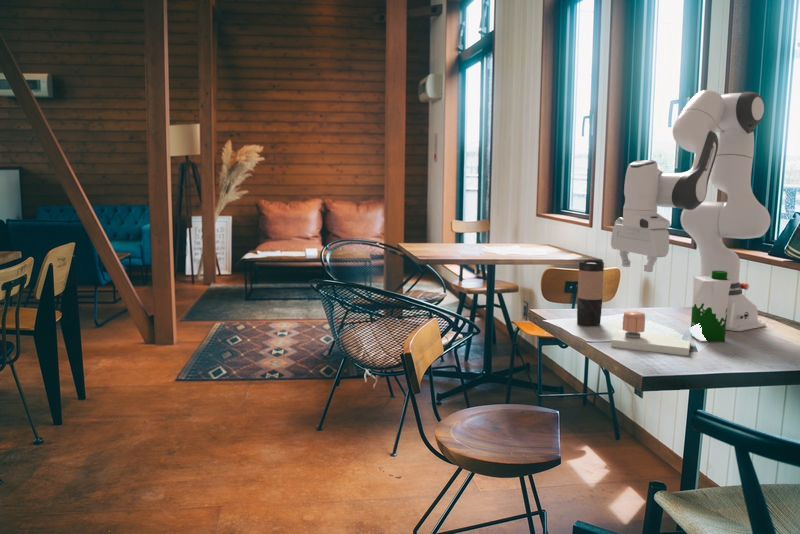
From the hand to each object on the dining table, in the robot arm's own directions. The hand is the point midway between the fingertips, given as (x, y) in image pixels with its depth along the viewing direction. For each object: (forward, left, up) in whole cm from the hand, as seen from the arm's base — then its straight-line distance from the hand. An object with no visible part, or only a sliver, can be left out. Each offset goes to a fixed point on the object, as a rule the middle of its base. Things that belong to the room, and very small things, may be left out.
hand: (636, 269), depth 189 cm
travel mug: (-2, -24, -22) cm, 33 cm away
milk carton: (-24, +3, -22) cm, 33 cm away
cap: (0, 0, -18) cm, 18 cm away
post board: (-3, +4, -22) cm, 22 cm away
